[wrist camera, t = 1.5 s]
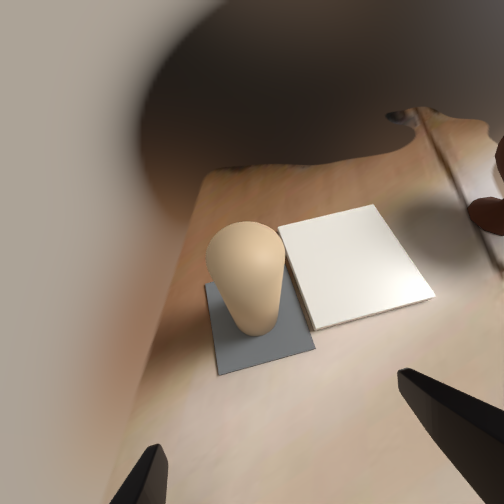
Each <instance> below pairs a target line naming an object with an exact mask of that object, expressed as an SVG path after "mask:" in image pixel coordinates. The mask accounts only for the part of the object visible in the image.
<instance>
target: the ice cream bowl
mask: <svg viewBox="0 0 504 504" xmlns="http://www.w3.org/2000/svg"><path fill="white" fill-rule="evenodd" d="M495 159H496V163H497V168H498V171H499V173H500V175H501V177H502V179H503V181H504V136H503V138H502V139H501V141H500V142H499V144H498V147H497V151H496V154H495ZM467 209H468V212H469V215H470V218H471V220H472V221H473V222H475V223H476V224H477V225H478V226H480V227H481V228H482V229H483V230H485V231H488V232H491V233H494V234H498V235H501V236H504V199H502V200H501V199H498V198H494V197H486V198H479V199H476V200H474V201H473V202H472V203H471V205H470V206H469V207H468V208H467Z"/></svg>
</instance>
